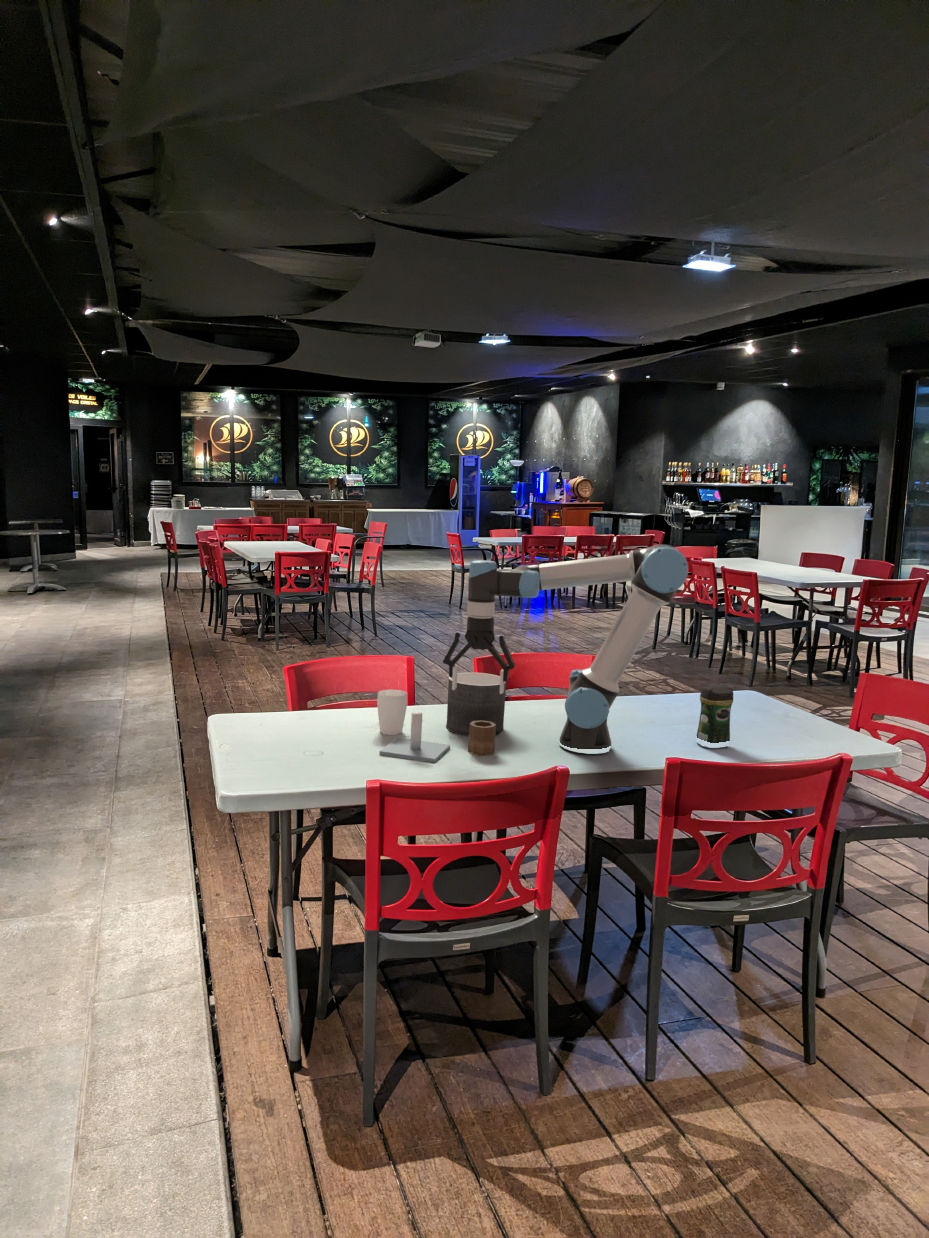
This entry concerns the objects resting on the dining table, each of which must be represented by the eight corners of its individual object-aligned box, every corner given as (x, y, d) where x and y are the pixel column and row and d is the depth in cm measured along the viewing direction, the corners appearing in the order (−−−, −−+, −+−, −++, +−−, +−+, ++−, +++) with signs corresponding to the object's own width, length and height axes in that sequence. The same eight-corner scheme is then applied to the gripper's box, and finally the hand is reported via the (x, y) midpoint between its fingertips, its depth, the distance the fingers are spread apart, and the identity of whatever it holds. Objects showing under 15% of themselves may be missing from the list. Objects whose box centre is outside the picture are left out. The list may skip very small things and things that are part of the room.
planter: (437, 730, 260) (439, 680, 257) (459, 717, 276) (461, 670, 274) (491, 740, 253) (494, 688, 251) (511, 725, 270) (514, 677, 267)
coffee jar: (717, 741, 264) (723, 682, 262) (733, 748, 257) (739, 688, 254) (690, 742, 261) (696, 683, 258) (706, 750, 254) (712, 689, 251)
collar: (496, 749, 244) (497, 722, 243) (490, 756, 237) (491, 728, 236) (472, 746, 246) (474, 719, 245) (466, 753, 239) (467, 725, 238)
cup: (401, 737, 251) (403, 697, 249) (372, 734, 253) (373, 694, 251) (409, 729, 260) (411, 690, 258) (381, 726, 262) (382, 688, 260)
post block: (450, 748, 243) (451, 710, 241) (434, 762, 230) (436, 722, 228) (397, 740, 247) (398, 704, 246) (379, 754, 234) (380, 715, 232)
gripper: (527, 617, 238) (523, 691, 241) (440, 611, 243) (438, 684, 246) (523, 621, 231) (519, 697, 234) (433, 615, 236) (431, 689, 239)
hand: (477, 690), depth 240 cm, fingers open, 13 cm apart
